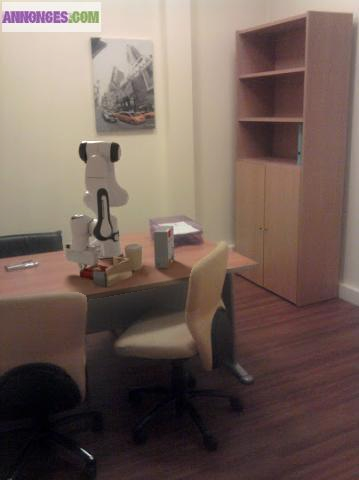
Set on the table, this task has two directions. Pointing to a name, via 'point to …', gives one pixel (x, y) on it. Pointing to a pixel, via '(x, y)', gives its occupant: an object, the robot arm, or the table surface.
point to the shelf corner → (118, 270)
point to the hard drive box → (164, 246)
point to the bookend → (100, 278)
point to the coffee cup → (134, 255)
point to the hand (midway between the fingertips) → (83, 271)
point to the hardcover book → (89, 271)
